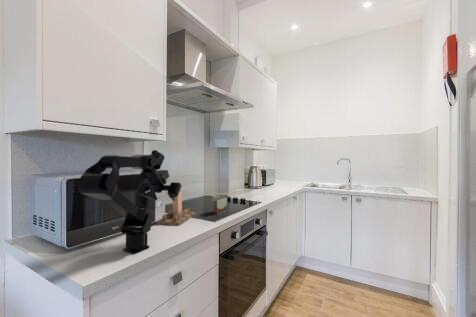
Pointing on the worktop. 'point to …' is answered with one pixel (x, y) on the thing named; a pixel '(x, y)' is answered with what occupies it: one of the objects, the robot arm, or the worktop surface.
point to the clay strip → (177, 204)
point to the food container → (220, 203)
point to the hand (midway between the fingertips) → (165, 199)
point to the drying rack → (176, 217)
